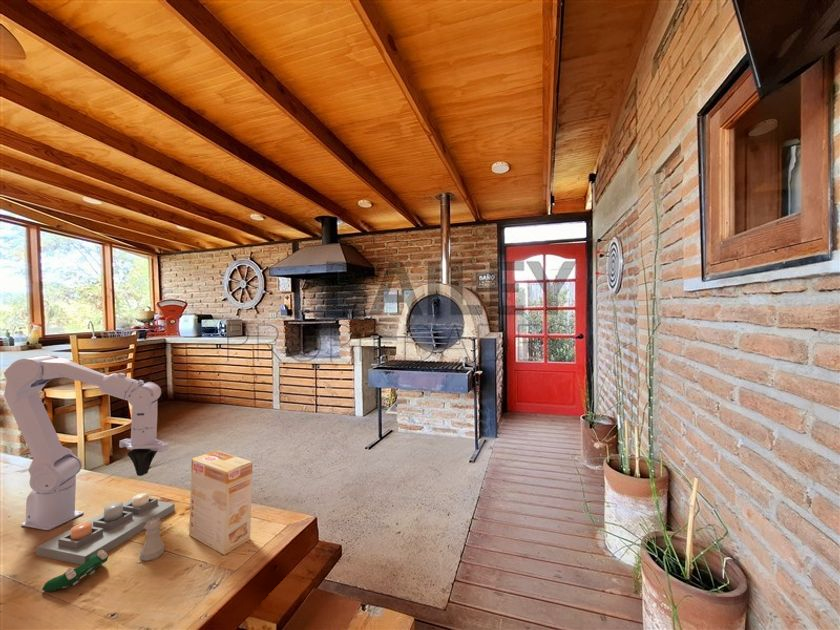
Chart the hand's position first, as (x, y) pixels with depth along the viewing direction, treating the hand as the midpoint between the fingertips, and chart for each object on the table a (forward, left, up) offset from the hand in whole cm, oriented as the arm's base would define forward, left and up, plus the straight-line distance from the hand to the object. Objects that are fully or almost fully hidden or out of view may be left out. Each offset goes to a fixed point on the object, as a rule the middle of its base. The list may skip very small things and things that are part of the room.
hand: (142, 474), depth 97 cm
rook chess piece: (+21, -14, -10) cm, 27 cm away
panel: (+3, -9, -10) cm, 14 cm away
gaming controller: (+13, -23, -10) cm, 28 cm away
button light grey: (+3, -9, -7) cm, 12 cm away
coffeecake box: (+31, -5, -10) cm, 33 cm away
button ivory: (+3, -2, -8) cm, 8 cm away
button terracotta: (+3, -16, -8) cm, 18 cm away
